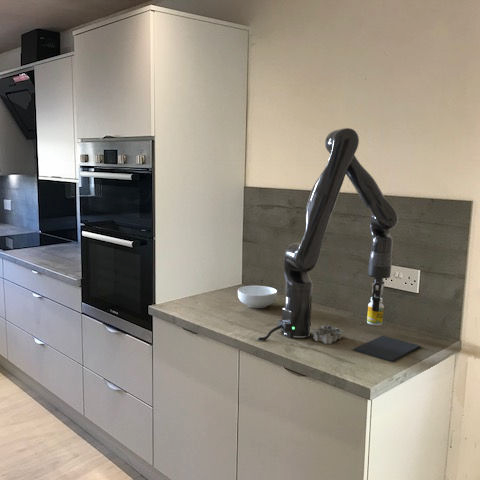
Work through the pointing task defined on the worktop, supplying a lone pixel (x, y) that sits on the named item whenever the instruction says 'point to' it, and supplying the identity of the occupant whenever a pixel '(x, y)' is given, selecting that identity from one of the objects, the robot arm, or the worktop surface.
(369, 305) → the supplement bottle
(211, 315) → the worktop surface
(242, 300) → the cereal bowl
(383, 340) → the placemat
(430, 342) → the worktop surface
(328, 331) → the egg carton
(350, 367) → the worktop surface
